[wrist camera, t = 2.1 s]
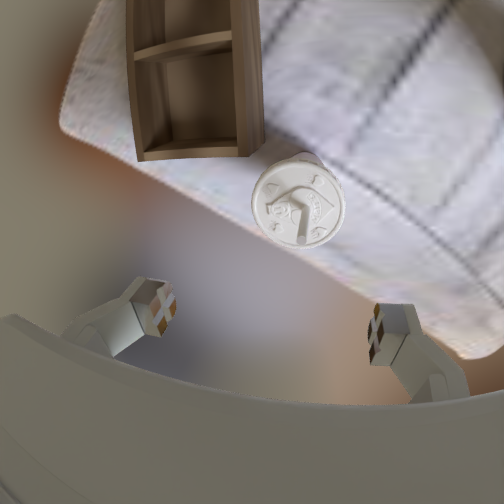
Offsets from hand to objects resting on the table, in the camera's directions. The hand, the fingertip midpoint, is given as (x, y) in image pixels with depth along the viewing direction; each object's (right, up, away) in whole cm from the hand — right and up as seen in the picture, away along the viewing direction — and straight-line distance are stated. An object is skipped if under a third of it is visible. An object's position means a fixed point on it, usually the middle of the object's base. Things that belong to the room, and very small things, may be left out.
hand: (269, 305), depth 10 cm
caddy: (-5, +25, +8) cm, 27 cm away
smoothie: (+5, +10, +15) cm, 19 cm away
